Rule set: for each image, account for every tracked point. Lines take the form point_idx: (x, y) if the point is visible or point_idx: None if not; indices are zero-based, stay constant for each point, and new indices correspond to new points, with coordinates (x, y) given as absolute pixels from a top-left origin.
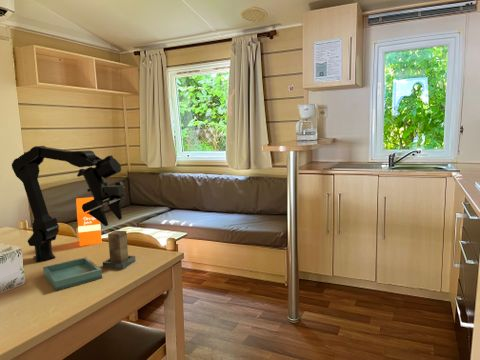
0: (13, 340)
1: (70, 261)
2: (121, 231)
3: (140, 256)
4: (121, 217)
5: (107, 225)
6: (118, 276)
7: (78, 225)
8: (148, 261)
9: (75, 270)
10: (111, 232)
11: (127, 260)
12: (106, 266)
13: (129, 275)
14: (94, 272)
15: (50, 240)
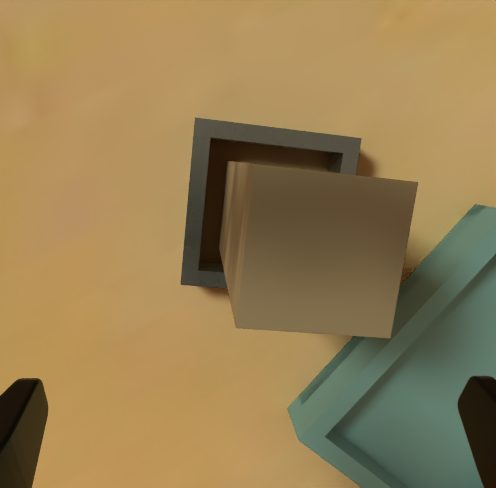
0: None
1: (382, 483)
2: (278, 223)
3: (95, 126)
4: (18, 391)
5: (488, 377)
6: (451, 117)
7: None
8: (189, 16)
9: (418, 401)
10: (328, 329)
11: (293, 135)
12: None
13: (437, 51)
14: None
15: None
